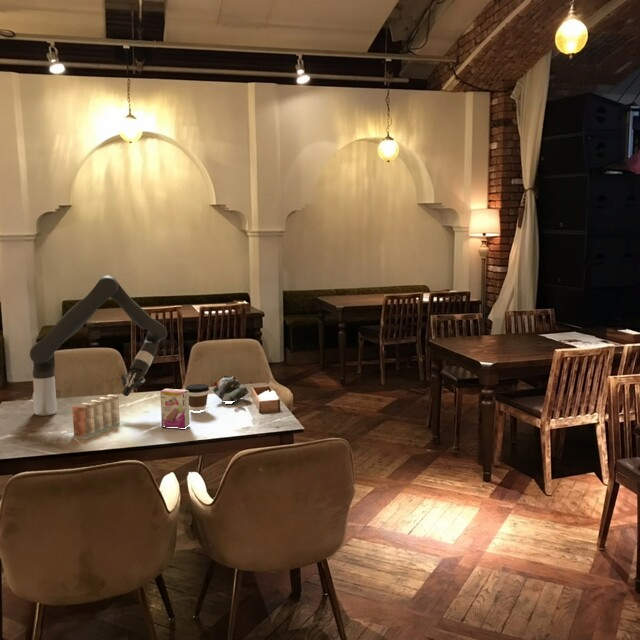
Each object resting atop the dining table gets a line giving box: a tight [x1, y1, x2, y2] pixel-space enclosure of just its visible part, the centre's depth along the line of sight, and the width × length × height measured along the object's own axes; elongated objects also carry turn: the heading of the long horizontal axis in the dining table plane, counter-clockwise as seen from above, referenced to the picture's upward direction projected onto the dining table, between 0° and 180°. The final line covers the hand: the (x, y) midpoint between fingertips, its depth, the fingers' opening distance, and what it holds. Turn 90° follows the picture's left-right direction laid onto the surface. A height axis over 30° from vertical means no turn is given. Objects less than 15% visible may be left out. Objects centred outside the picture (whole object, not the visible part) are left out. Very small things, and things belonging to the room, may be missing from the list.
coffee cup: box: [184, 383, 210, 411], centre depth 325 cm, size 11×11×12 cm
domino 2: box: [80, 402, 95, 433], centre depth 294 cm, size 5×2×12 cm, turn 64°
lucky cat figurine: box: [212, 375, 250, 402], centre depth 343 cm, size 15×12×14 cm
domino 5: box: [106, 394, 121, 423], centre depth 307 cm, size 5×2×12 cm, turn 63°
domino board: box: [63, 420, 130, 440], centre depth 299 cm, size 12×26×1 cm, turn 153°
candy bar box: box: [160, 388, 191, 428], centre depth 301 cm, size 11×5×16 cm, turn 74°
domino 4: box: [98, 396, 112, 426], centre depth 303 cm, size 5×2×12 cm, turn 63°
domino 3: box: [89, 399, 103, 430], centre depth 298 cm, size 5×2×12 cm, turn 63°
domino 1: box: [71, 405, 86, 436], centre depth 289 cm, size 5×2×12 cm, turn 63°
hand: (124, 395), depth 313 cm, fingers closed
